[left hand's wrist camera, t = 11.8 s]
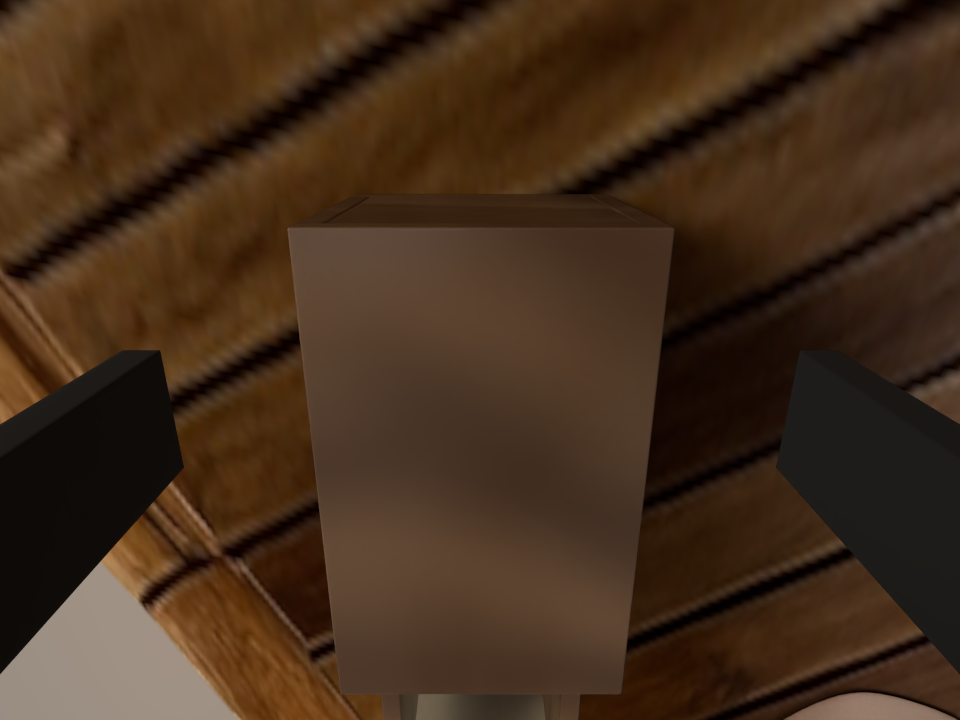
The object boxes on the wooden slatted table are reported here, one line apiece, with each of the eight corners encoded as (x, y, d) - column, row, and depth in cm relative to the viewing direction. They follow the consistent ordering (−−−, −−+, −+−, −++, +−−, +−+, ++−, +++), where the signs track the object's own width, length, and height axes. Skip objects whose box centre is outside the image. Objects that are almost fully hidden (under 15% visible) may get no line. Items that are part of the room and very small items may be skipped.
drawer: (559, 754, 37) (578, 909, 30) (401, 754, 37) (382, 909, 30) (580, 440, 29) (614, 545, 22) (380, 440, 29) (347, 545, 22)
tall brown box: (581, 536, 32) (621, 695, 23) (379, 536, 32) (339, 695, 23) (606, 193, 26) (675, 227, 17) (354, 193, 26) (286, 227, 17)
